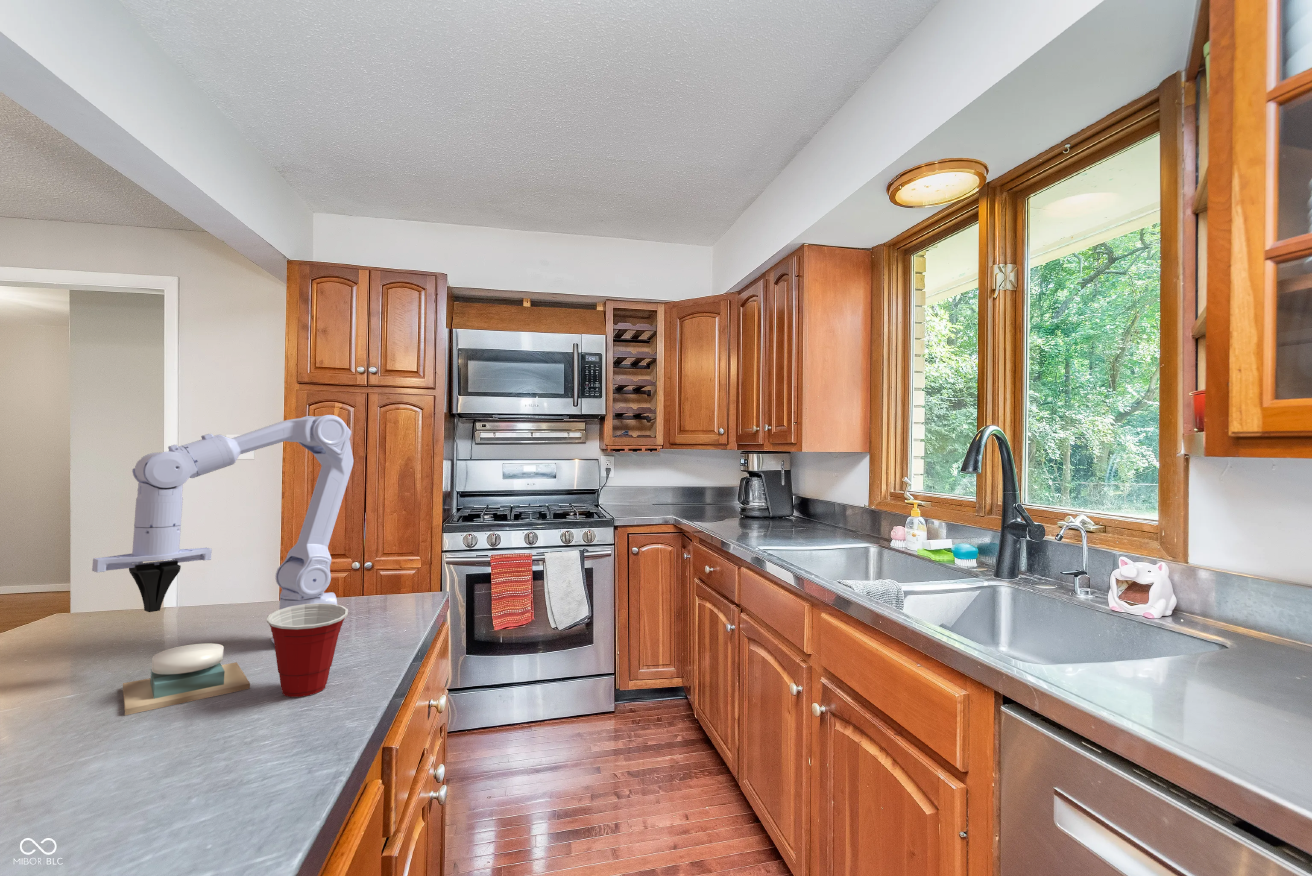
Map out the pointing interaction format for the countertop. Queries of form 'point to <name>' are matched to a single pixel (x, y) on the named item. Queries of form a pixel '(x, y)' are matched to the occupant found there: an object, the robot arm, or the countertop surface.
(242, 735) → the countertop surface
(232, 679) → the dispenser base
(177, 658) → the disc
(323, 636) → the plastic cup
